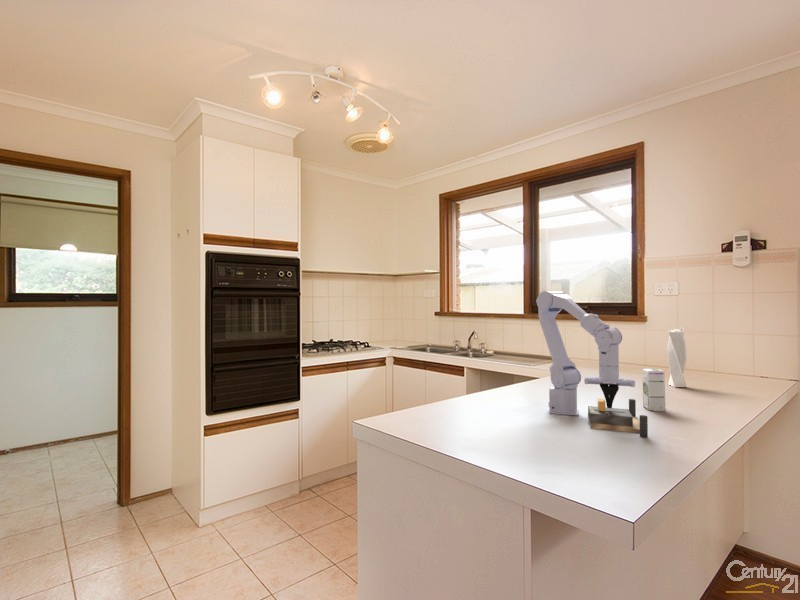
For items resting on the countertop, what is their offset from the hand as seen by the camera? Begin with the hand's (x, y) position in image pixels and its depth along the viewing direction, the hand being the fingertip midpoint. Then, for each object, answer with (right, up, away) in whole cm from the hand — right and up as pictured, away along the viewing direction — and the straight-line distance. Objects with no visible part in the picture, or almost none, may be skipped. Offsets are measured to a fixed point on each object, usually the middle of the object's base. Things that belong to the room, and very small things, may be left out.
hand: (609, 407), depth 134 cm
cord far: (+11, -5, +7) cm, 15 cm away
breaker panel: (+1, -5, -1) cm, 5 cm away
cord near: (+3, -5, -13) cm, 15 cm away
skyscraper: (+61, -6, +58) cm, 84 cm away
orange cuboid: (-2, -1, +1) cm, 2 cm away
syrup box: (+25, -5, +18) cm, 32 cm away
